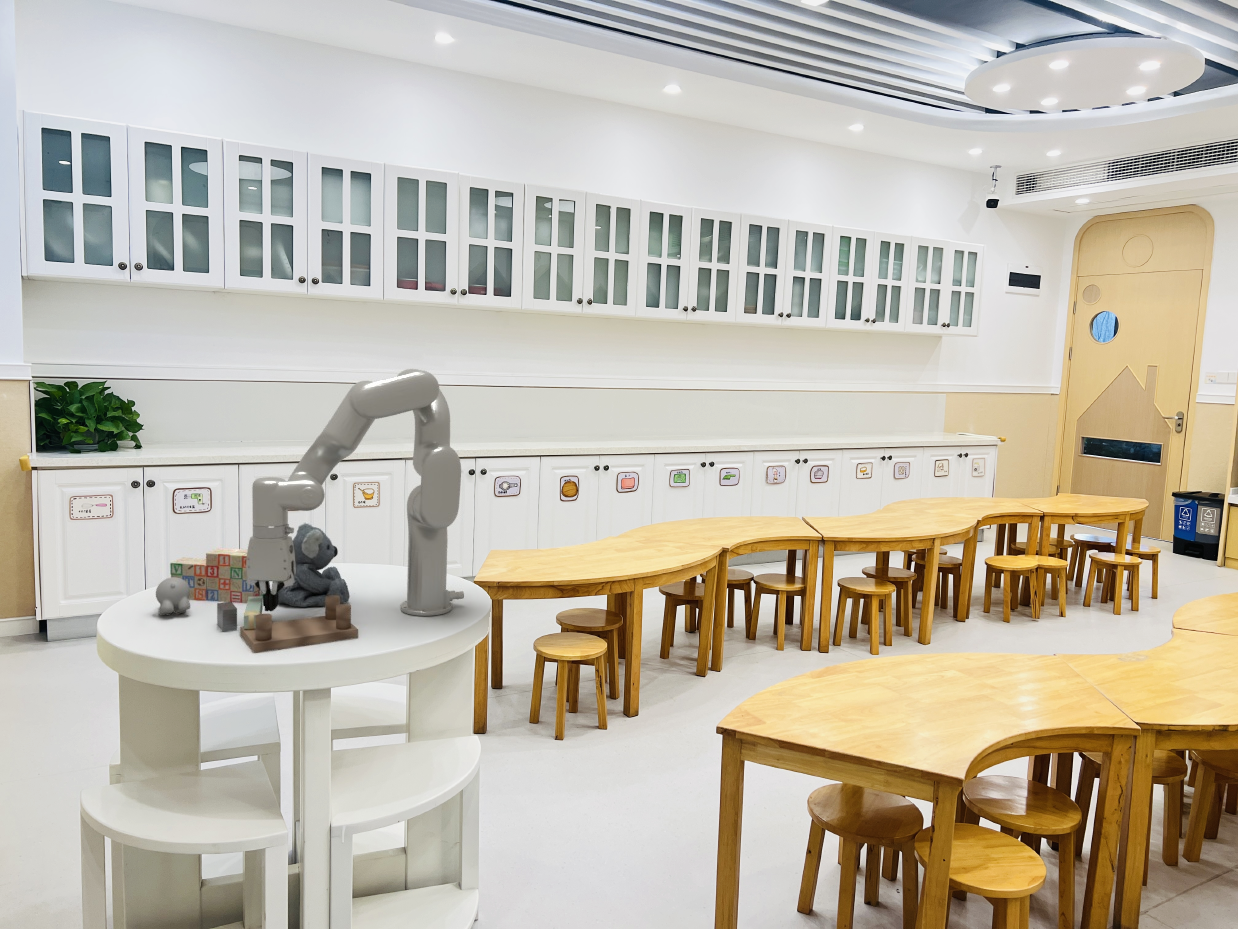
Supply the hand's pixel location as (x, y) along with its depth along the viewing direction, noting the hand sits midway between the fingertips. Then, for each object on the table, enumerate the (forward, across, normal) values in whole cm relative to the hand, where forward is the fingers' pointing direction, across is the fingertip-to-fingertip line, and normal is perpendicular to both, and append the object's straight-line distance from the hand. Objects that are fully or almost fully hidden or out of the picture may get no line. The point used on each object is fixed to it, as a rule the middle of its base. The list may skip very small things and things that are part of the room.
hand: (270, 609), depth 203 cm
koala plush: (+4, -2, -20) cm, 20 cm away
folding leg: (+1, +2, +5) cm, 5 cm away
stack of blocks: (+4, +20, -18) cm, 27 cm away
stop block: (+3, +8, +5) cm, 10 cm away
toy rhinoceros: (+3, +25, -5) cm, 26 cm away
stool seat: (+3, -10, +9) cm, 13 cm away
